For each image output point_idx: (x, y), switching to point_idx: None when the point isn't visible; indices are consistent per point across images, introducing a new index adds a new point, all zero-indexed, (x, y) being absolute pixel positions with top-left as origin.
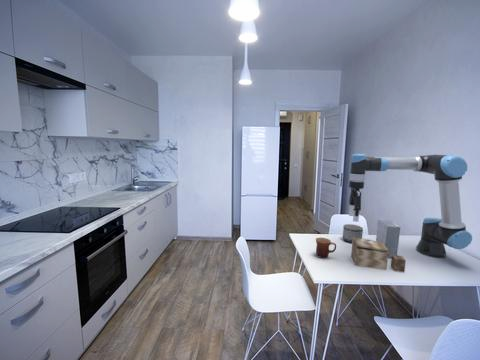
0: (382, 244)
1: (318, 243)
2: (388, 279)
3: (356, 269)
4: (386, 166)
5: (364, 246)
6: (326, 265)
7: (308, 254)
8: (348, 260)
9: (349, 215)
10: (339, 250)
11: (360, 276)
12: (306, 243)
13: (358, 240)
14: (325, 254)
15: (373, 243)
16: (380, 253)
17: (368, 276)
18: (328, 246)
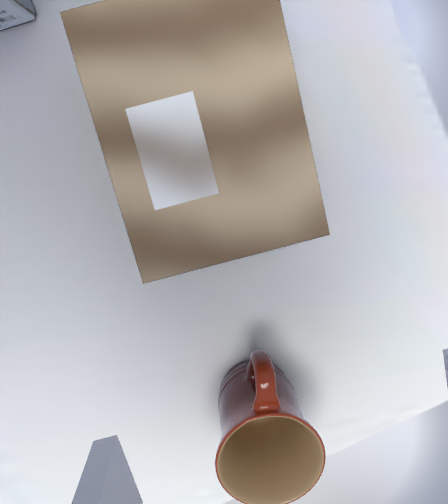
0: (136, 4)
1: (307, 470)
2: (384, 17)
3: (338, 197)
4: None
5: (315, 175)
6: (363, 347)
7: None
8: None
9: (138, 501)
10: (108, 312)
11: (414, 173)
12: None
13: (203, 229)
14: (288, 382)
15: (189, 94)
16: None
17: (396, 131)
18: (282, 402)
